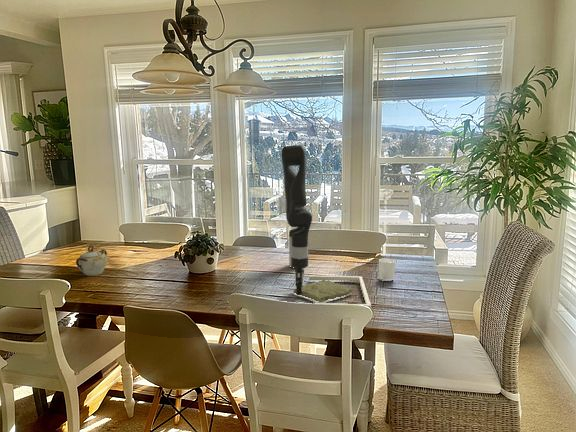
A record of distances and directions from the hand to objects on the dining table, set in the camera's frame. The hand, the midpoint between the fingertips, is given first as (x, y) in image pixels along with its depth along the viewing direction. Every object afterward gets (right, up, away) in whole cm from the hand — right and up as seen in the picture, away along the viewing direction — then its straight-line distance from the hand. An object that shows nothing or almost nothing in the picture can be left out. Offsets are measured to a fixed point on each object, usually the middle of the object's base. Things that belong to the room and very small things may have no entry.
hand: (299, 291), depth 184 cm
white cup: (+43, +2, +20) cm, 48 cm away
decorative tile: (+11, -2, 0) cm, 11 cm away
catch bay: (+16, -2, -1) cm, 16 cm away
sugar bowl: (-107, +3, +32) cm, 112 cm away
